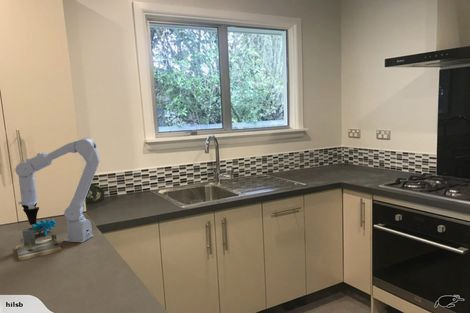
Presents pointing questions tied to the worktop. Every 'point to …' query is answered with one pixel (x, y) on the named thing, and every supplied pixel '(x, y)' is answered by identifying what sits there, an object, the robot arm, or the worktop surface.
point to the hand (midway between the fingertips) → (32, 222)
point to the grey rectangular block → (28, 237)
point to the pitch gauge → (38, 248)
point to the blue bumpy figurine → (43, 226)
